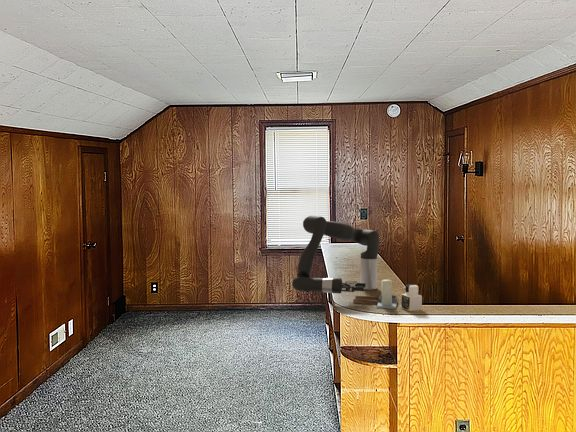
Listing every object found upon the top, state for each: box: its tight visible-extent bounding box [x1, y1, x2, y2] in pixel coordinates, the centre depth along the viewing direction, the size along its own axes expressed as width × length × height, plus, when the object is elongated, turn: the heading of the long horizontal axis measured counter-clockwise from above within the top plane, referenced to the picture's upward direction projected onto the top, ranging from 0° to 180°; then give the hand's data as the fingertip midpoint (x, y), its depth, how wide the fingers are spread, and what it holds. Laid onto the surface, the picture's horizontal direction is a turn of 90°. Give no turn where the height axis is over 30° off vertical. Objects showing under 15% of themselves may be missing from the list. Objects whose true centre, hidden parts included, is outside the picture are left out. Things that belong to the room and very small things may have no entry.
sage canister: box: [380, 279, 393, 306], centre depth 294 cm, size 5×5×12 cm
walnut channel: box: [352, 295, 380, 305], centre depth 305 cm, size 9×12×2 cm
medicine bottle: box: [401, 283, 423, 312], centre depth 289 cm, size 7×7×12 cm
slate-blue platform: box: [376, 301, 398, 310], centre depth 294 cm, size 8×9×1 cm
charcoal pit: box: [378, 294, 398, 304], centre depth 302 cm, size 8×8×3 cm
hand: (364, 287), depth 296 cm, fingers open, 8 cm apart
